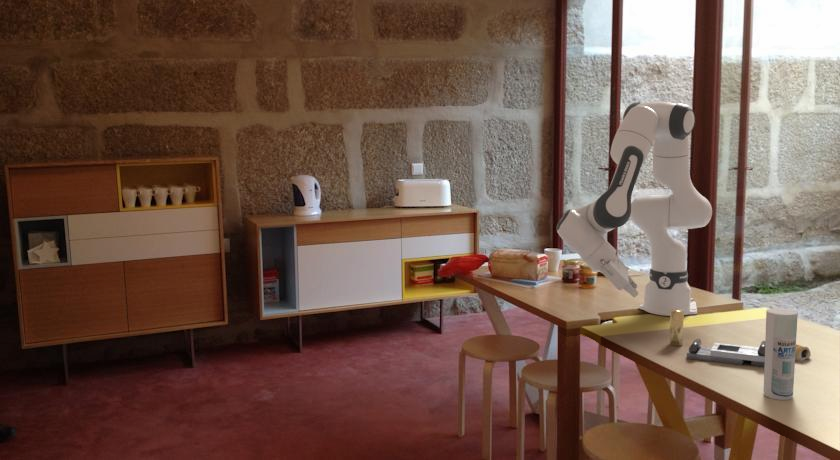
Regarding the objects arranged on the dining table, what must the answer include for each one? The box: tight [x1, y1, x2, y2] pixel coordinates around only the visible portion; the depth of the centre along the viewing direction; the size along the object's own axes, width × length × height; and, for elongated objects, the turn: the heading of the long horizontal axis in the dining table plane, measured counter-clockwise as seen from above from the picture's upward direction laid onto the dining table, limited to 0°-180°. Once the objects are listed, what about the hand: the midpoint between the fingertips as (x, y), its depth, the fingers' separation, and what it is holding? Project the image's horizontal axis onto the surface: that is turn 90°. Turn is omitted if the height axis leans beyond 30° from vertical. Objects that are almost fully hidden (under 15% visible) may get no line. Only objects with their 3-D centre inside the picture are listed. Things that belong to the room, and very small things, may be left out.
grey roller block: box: [686, 338, 765, 368], centre depth 209 cm, size 20×8×5 cm, turn 61°
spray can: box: [763, 307, 799, 401], centre depth 180 cm, size 6×6×20 cm
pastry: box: [795, 343, 811, 363], centre depth 211 cm, size 9×7×4 cm
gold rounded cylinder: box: [669, 309, 685, 347], centre depth 223 cm, size 4×4×10 cm
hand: (636, 291), depth 224 cm, fingers open, 8 cm apart
